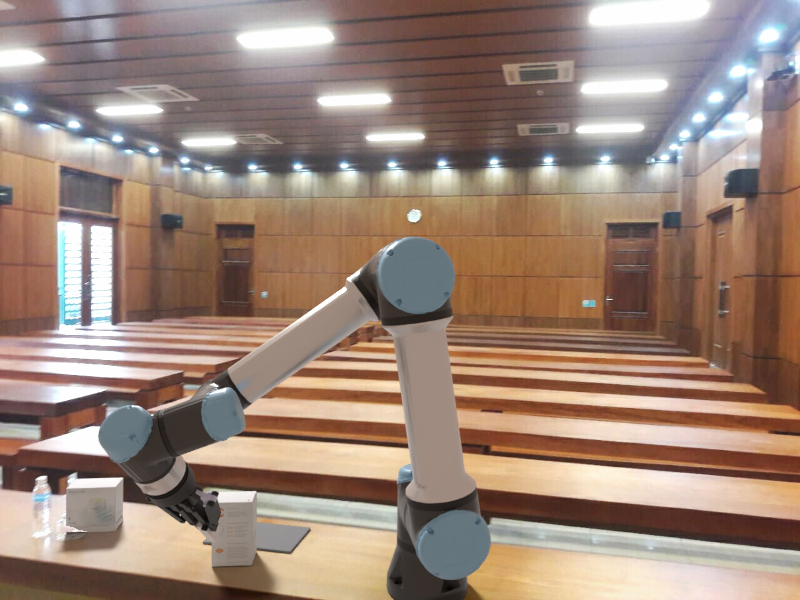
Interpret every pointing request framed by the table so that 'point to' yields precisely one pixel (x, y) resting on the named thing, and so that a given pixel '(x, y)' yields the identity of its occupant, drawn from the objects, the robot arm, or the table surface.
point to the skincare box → (95, 504)
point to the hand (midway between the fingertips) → (215, 534)
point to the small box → (236, 529)
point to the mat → (277, 537)
